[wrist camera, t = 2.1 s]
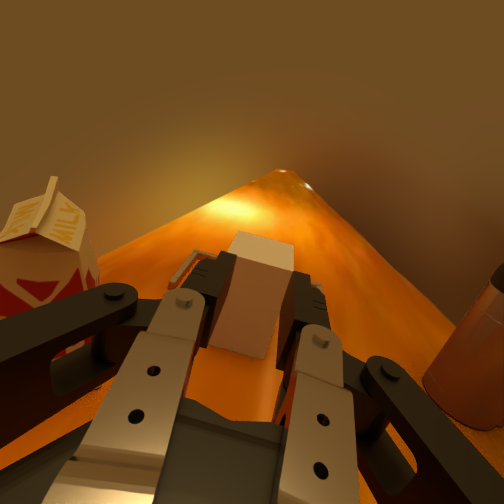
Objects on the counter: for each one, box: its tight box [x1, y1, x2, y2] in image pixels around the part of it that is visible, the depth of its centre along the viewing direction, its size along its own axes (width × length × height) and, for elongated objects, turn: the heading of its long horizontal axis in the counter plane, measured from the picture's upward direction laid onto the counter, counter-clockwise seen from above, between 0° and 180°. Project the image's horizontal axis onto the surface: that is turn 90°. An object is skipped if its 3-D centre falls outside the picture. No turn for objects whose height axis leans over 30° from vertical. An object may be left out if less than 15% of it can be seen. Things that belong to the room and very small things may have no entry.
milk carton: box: [0, 176, 101, 390], centre depth 26 cm, size 9×9×20 cm
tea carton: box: [208, 231, 294, 360], centre depth 39 cm, size 8×8×14 cm
